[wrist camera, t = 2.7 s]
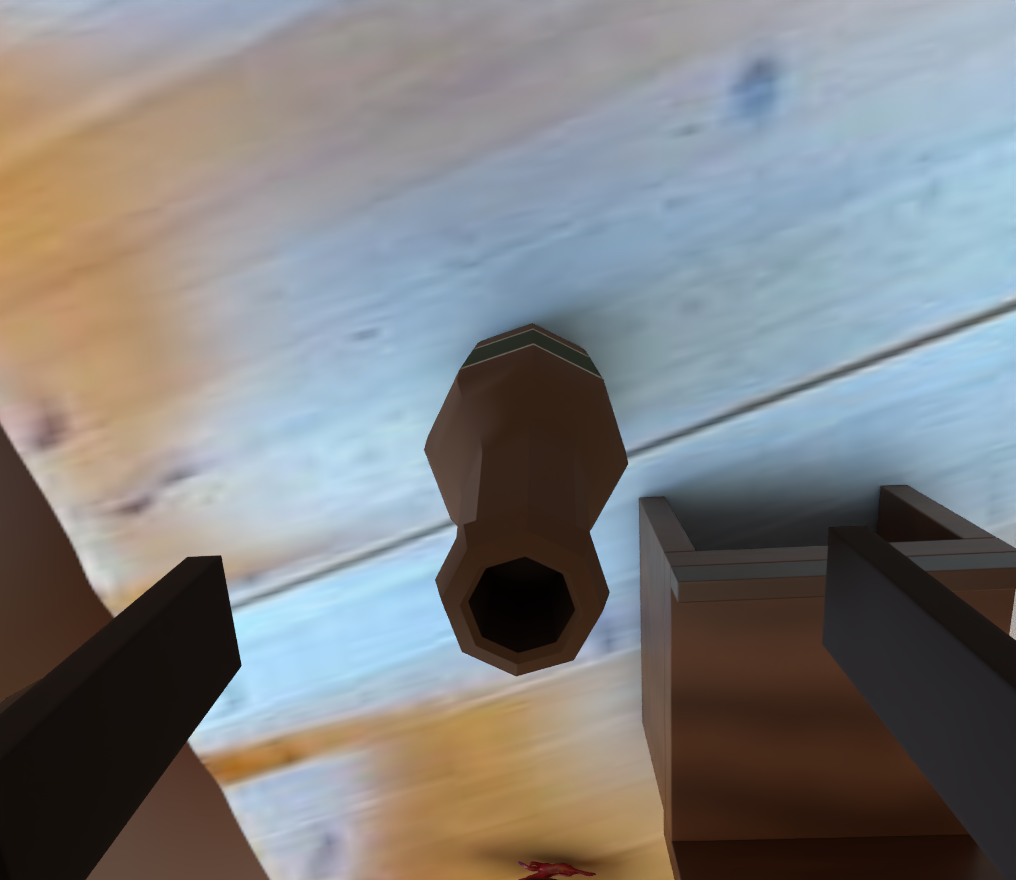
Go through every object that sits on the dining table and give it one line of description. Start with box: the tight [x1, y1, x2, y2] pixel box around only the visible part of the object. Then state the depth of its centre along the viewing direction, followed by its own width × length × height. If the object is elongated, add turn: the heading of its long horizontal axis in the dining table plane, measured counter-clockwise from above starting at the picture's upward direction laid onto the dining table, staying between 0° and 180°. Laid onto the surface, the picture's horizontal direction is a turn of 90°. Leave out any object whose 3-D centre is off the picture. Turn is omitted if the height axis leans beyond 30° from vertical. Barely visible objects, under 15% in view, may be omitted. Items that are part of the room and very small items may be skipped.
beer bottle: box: [424, 323, 628, 676], centre depth 25 cm, size 8×8×24 cm
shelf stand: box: [639, 485, 1016, 880], centre depth 30 cm, size 16×15×21 cm
